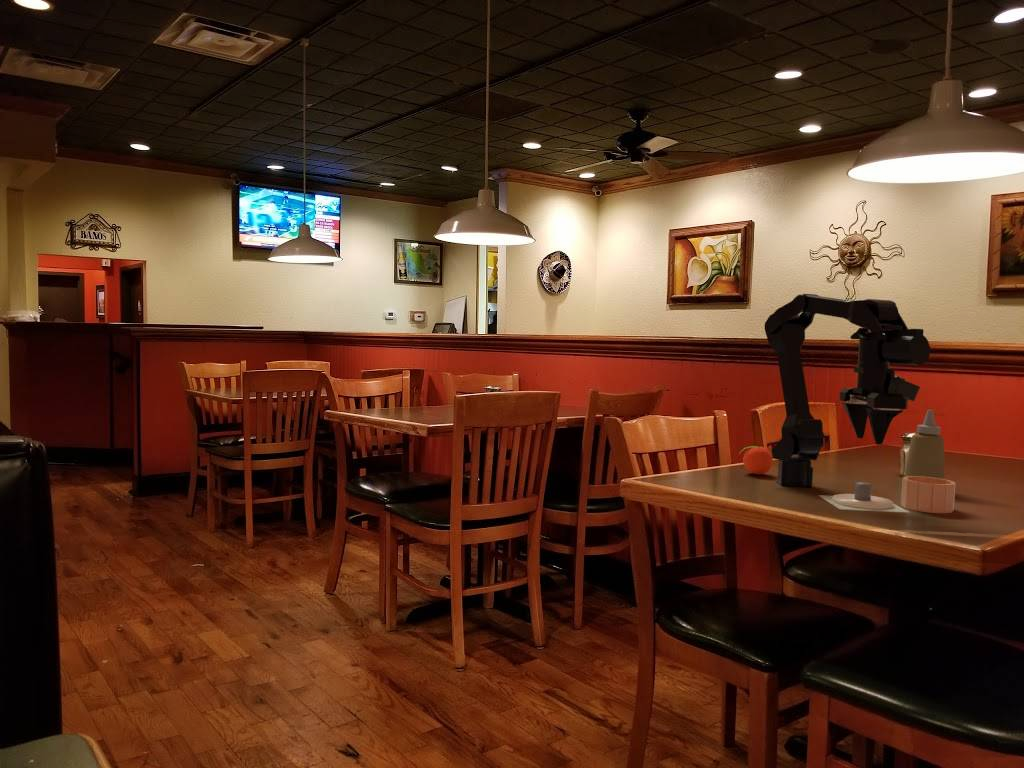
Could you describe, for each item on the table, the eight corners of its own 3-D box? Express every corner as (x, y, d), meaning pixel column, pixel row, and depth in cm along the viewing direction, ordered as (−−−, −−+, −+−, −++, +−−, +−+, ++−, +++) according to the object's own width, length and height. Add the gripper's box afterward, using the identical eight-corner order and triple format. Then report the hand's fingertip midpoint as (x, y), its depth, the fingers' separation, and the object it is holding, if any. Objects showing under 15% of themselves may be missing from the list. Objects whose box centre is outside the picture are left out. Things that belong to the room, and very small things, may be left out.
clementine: (738, 475, 186) (740, 446, 185) (737, 470, 192) (738, 442, 192) (773, 478, 184) (775, 448, 183) (770, 473, 191) (772, 444, 190)
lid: (843, 508, 149) (844, 487, 149) (825, 496, 160) (826, 477, 160) (902, 510, 148) (903, 490, 148) (879, 498, 159) (881, 479, 159)
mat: (839, 512, 148) (839, 508, 148) (818, 498, 161) (818, 495, 161) (909, 515, 147) (910, 512, 147) (882, 501, 160) (883, 498, 160)
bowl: (913, 514, 148) (915, 483, 148) (893, 504, 157) (895, 475, 157) (961, 516, 147) (964, 485, 147) (939, 506, 156) (941, 477, 156)
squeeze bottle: (929, 485, 180) (937, 408, 178) (950, 493, 171) (959, 413, 170) (895, 484, 179) (903, 407, 178) (915, 492, 171) (923, 411, 170)
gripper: (938, 366, 143) (933, 449, 144) (894, 362, 162) (890, 436, 163) (877, 364, 144) (872, 447, 145) (840, 361, 162) (836, 434, 163)
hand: (869, 441), depth 154 cm, fingers open, 9 cm apart
